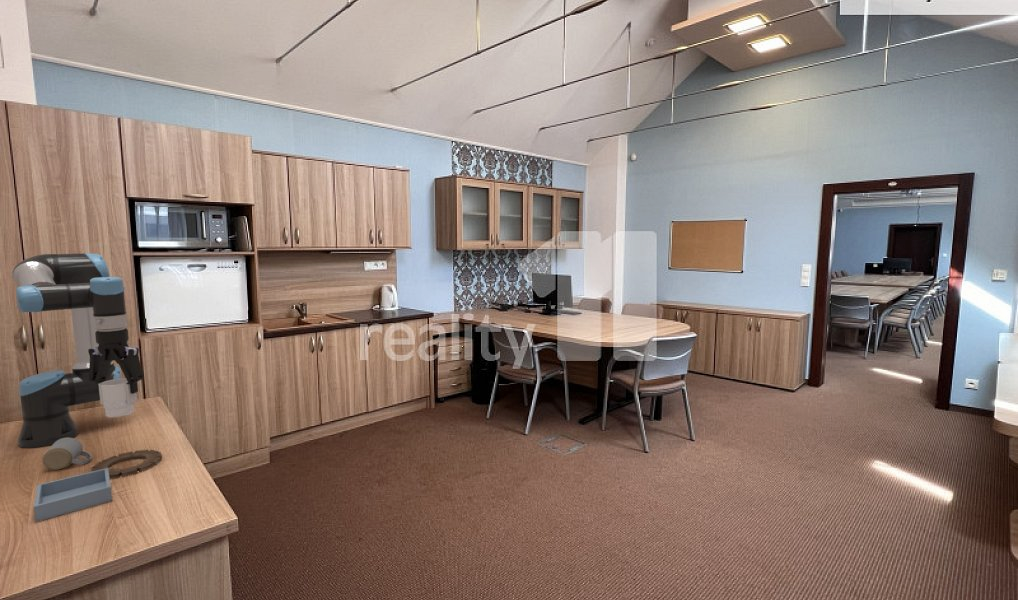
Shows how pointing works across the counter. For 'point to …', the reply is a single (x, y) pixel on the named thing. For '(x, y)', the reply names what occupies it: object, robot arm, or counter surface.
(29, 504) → the counter surface
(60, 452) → the ceramic mug
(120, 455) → the holder ring
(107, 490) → the bin
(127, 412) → the white cup
